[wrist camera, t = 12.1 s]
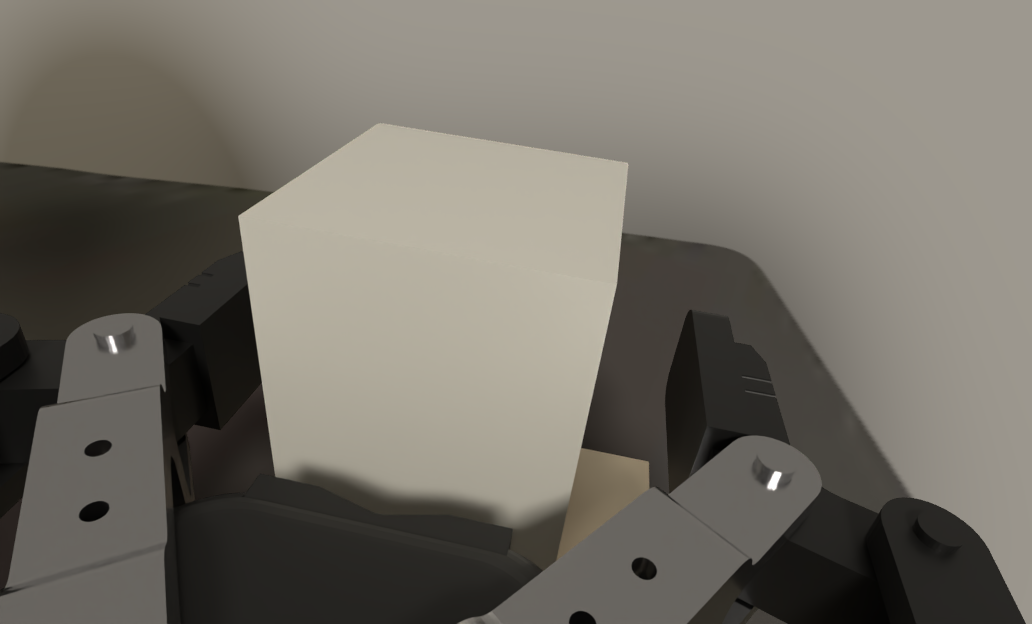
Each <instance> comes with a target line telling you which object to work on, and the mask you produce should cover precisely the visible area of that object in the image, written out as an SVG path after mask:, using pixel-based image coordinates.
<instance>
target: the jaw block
mask: <svg viewBox="0 0 1032 624" xmlns="http://www.w3.org/2000/svg"><path fill="white" fill-rule="evenodd" d="M627 172H628V163H626V162H619V161H613V160H607V159H600V158H594V157H588V156H582V155H576V154H569V153H563V152H557V151H551V150H545V149H538V148H532V147H526V146H520V145H513V144H507V143H501V142H494V141H489V140H482V139H476V138H470V137H464V136H457V135H451V134H445V133H439V132H432V131H426V130H420V129H413V128H407V127H401V126H395V125H389V124H383V123H378V124H377V125H375V126H374V127H372V128H371V129H369V130H368V131H366V132H365V133H363V134H362V135H360V136H359V137H357V138H356V139H354V140H353V141H351V142H349V143H348V144H346V145H345V146H344V147H342V148H340V149H339V150H337V151H336V152H334V153H333V154H331V155H330V156H328V157H327V158H325V159H324V160H322V161H321V162H319V163H318V164H316V165H315V166H313V167H312V168H310V169H309V170H307V171H306V172H304V173H303V174H301V175H300V176H298V177H297V178H295V179H294V180H292V181H291V182H289V183H288V184H286V185H285V186H283V187H282V188H280V189H278V190H277V191H275V192H274V193H272V194H271V195H269V196H268V197H266V198H265V199H263V200H262V201H260V202H259V203H257V204H256V205H254V206H253V207H251V208H250V209H248V210H247V211H245V212H244V213H242V214H241V215H239V216H238V217H239V224H240V231H241V238H242V246H243V253H244V260H245V267H246V274H247V281H248V288H249V295H250V302H251V309H252V316H253V323H254V330H255V337H256V344H257V351H258V358H259V365H260V372H261V379H262V386H263V393H264V400H265V407H266V414H267V421H268V428H269V435H270V442H271V449H272V456H273V463H274V471H275V477H278V478H283V479H288V480H292V481H297V482H301V483H306V484H310V485H315V486H320V487H322V488H324V489H326V490H328V491H330V492H332V493H334V494H336V495H338V496H340V497H342V498H345V499H347V500H349V501H351V502H353V503H355V504H357V505H359V506H361V507H363V508H365V509H367V510H369V511H371V512H374V513H377V514H383V515H452V516H457V517H461V518H466V519H471V520H475V521H480V522H484V523H489V524H493V525H498V526H503V527H507V528H512V529H513V532H512V539H511V545H510V550H512V551H514V552H516V553H518V554H520V555H522V556H523V557H525V558H526V559H528V560H529V561H531V562H533V563H534V564H535V565H537V566H538V567H539V568H540V569H542V570H543V571H544V570H545V569H546V568H548V567H549V566H550V565H552V564H553V563H554V562H555V561H556V559H557V555H558V550H559V545H560V541H561V536H562V532H563V527H564V523H565V518H566V514H567V509H568V504H569V500H570V495H571V491H572V486H573V482H574V477H575V473H576V468H577V463H578V459H579V454H580V450H581V445H582V441H583V436H584V432H585V427H586V422H587V418H588V413H589V409H590V404H591V400H592V395H593V391H594V386H595V381H596V377H597V372H598V368H599V363H600V359H601V354H602V350H603V345H604V340H605V336H606V331H607V327H608V322H609V318H610V313H611V309H612V304H613V299H614V295H615V290H616V286H617V277H618V266H619V256H620V246H621V235H622V225H623V214H624V204H625V193H626V183H627Z"/></svg>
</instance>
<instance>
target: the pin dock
mask: <svg viewBox="0 0 1032 624" xmlns="http://www.w3.org/2000/svg"><path fill="white" fill-rule="evenodd" d="M648 489H649V462H647V461H642V460H638V459H633V458H628V457H623V456H618V455H613V454H608V453H603V452H598V451H593V450H589V449H584V448H581V450H580V454H579V459H578V463H577V468H576V473H575V477H574V482H573V486H572V491H571V495H570V500H569V504H568V509H567V514H566V518H565V523H564V527H563V532H562V536H561V541H560V545H559V550H558V555H557V559H556V561H557V560H558V559H559V558H561V557H562V556H563V555H564V554H566V553H567V552H568V551H570V550H571V549H572V548H573V547H575V546H576V545H577V544H578V543H580V542H581V541H582V540H584V539H585V538H586V537H587V536H589V535H590V534H591V533H593V532H594V531H595V530H596V529H598V528H599V527H600V526H602V525H603V524H604V523H605V522H607V521H608V520H609V519H610V518H612V517H613V516H614V515H616V514H617V513H618V512H619V511H621V510H622V509H623V508H625V507H626V506H627V505H628V504H630V503H631V502H632V501H634V500H635V499H636V498H637V497H639V496H640V495H641V494H642V493H644V492H645V491H647V490H648Z"/></svg>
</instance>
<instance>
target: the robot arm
mask: <svg viewBox="0 0 1032 624" xmlns="http://www.w3.org/2000/svg"><path fill="white" fill-rule="evenodd" d="M261 383H262V379H261V372H260V365H259V358H258V351H257V344H256V337H255V330H254V323H253V316H252V309H251V302H250V295H249V288H248V281H247V274H246V267H245V260H244V253H243V251H241V252H238V253H236V254H233V255H231V256H228V257H225V258H223V259H220V260H218V261H216V262H215V263H214V264H212V265H211V266H210V267H208V268H207V269H206V270H204V271H203V272H202V274H201V275H198V276H196V277H195V278H194V279H192V280H191V281H189V282H188V285H184V286H183V287H181V288H180V289H179V290H177V291H176V292H175V293H173V294H172V295H171V296H169V297H168V298H167V299H165V300H164V301H163V302H161V303H160V304H159V305H157V306H156V307H155V308H153V309H152V310H150V311H149V312H148V313H146V314H145V315H143V314H135V313H123V314H115V315H109V316H105V317H101V318H98V319H95V320H92V321H90V322H87V323H85V324H83V325H82V326H80V327H78V328H77V329H76V330H74V331H73V332H72V333H71V334H70V335H69V337H68V338H67V340H25V337H24V335H23V332H22V330H21V327H20V324H19V322H18V321H17V319H15V318H14V317H12V316H10V315H6V314H2V313H0V518H1V517H2V516H3V515H4V514H5V513H6V512H7V511H8V510H9V509H11V508H12V507H13V506H14V505H15V504H16V503H17V502H18V501H19V500H20V499H21V498H22V497H23V499H22V505H21V511H20V516H19V522H18V527H17V533H16V539H15V544H14V550H13V555H12V561H11V567H10V572H9V578H8V582H7V585H6V587H5V588H3V589H1V590H0V624H746V623H747V621H748V620H749V619H750V618H751V617H752V615H753V614H754V613H755V612H756V611H757V609H758V608H759V609H761V610H762V611H764V612H766V613H768V614H770V615H772V616H774V617H776V618H778V619H780V620H782V621H784V622H786V623H788V624H1026V623H1025V621H1024V619H1023V617H1022V615H1021V613H1020V611H1019V609H1018V607H1017V605H1016V603H1015V601H1014V599H1013V597H1012V595H1011V593H1010V591H1009V590H1008V587H1007V585H1006V583H1005V581H1004V579H1003V577H1002V575H1001V573H1000V571H999V569H998V567H997V565H996V563H995V561H994V559H993V557H992V555H991V553H990V551H989V549H988V548H987V546H986V544H985V543H984V541H983V540H982V539H981V538H980V536H979V535H978V534H977V533H976V532H975V531H974V530H973V529H972V528H971V527H970V526H968V525H967V524H966V523H965V522H964V521H962V520H961V519H960V518H958V517H957V516H955V515H954V514H952V513H950V512H949V511H947V510H945V509H943V508H941V507H939V506H937V505H934V504H932V503H929V502H926V501H923V500H919V499H914V498H896V499H892V500H890V501H888V502H887V503H886V504H885V505H884V506H883V508H882V509H881V511H880V513H879V514H878V513H876V512H873V511H871V510H869V509H866V508H864V507H862V506H859V505H857V504H855V503H852V502H850V501H848V500H846V499H843V498H841V497H839V496H837V495H835V494H833V493H831V492H829V491H828V490H826V489H824V488H823V487H822V483H821V478H820V475H819V473H818V471H817V469H816V467H815V466H814V465H813V463H812V462H811V461H810V460H809V459H808V458H807V457H806V456H805V455H803V454H802V453H801V452H800V451H798V450H797V449H795V448H794V447H792V446H790V443H789V440H788V436H787V433H786V429H785V426H784V422H783V419H782V416H781V412H780V409H779V405H778V402H777V399H776V398H775V392H774V388H773V385H772V384H771V378H770V374H769V371H768V368H767V364H766V362H765V361H764V360H763V359H762V357H761V356H760V355H759V354H758V353H757V352H756V351H755V350H754V348H753V347H752V346H751V345H746V344H741V343H735V342H734V339H733V334H732V330H731V325H730V321H729V318H728V316H724V315H718V314H713V313H707V312H701V311H696V310H689V312H688V313H687V316H686V318H685V321H684V325H683V328H682V332H681V335H680V338H679V342H678V345H677V348H676V352H675V355H674V359H673V362H672V365H671V369H670V372H669V376H668V381H667V387H666V395H665V408H666V430H667V451H668V473H669V494H667V493H665V492H664V491H663V490H661V489H660V488H658V487H653V488H650V489H648V490H647V491H645V492H644V493H642V494H641V495H640V496H639V497H637V498H636V499H635V500H634V501H632V502H631V503H630V504H628V505H627V506H626V507H625V508H623V509H622V510H621V511H619V512H618V513H617V514H616V515H614V516H613V517H612V518H610V519H609V520H608V521H607V522H605V523H604V524H603V525H602V526H600V527H599V528H598V529H596V530H595V531H594V532H593V533H591V534H590V535H589V536H587V537H586V538H585V539H584V540H582V541H581V542H580V543H578V544H577V545H576V546H575V547H573V548H572V549H571V550H570V551H568V552H567V553H566V554H564V555H563V556H562V557H561V558H559V559H558V560H557V561H555V562H554V563H553V564H552V565H550V566H549V567H548V568H546V569H545V570H544V571H543V570H542V569H540V568H539V567H538V566H537V565H535V564H534V563H533V562H531V561H529V560H528V559H526V558H525V557H523V556H522V555H520V554H518V553H516V552H514V551H512V550H510V545H511V539H512V532H513V529H512V528H507V527H503V526H498V525H493V524H489V523H484V522H480V521H475V520H471V519H466V518H461V517H457V516H452V515H383V514H377V513H374V512H371V511H369V510H367V509H365V508H363V507H361V506H359V505H357V504H355V503H353V502H351V501H349V500H347V499H345V498H342V497H340V496H338V495H336V494H334V493H332V492H330V491H328V490H326V489H324V488H322V487H320V486H315V485H310V484H306V483H301V482H297V481H292V480H288V479H283V478H278V477H274V476H269V475H265V474H259V476H258V477H257V478H256V480H255V481H254V483H253V484H252V485H251V487H250V488H249V490H248V491H247V492H246V493H231V494H222V495H217V496H212V497H207V498H203V499H199V500H196V501H195V496H194V486H193V476H192V466H191V456H190V446H189V441H188V437H187V432H188V430H189V429H190V428H191V427H192V426H193V425H199V426H204V427H209V428H213V429H218V430H221V429H222V427H223V426H224V425H225V424H226V423H227V422H228V421H229V419H230V418H231V417H232V416H233V415H234V414H235V413H236V411H237V410H238V409H239V408H240V407H241V406H242V405H243V403H244V402H245V401H246V400H247V399H248V398H249V396H250V395H251V394H252V393H253V392H254V391H255V390H256V388H257V387H258V386H259V385H260V384H261Z"/></svg>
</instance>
